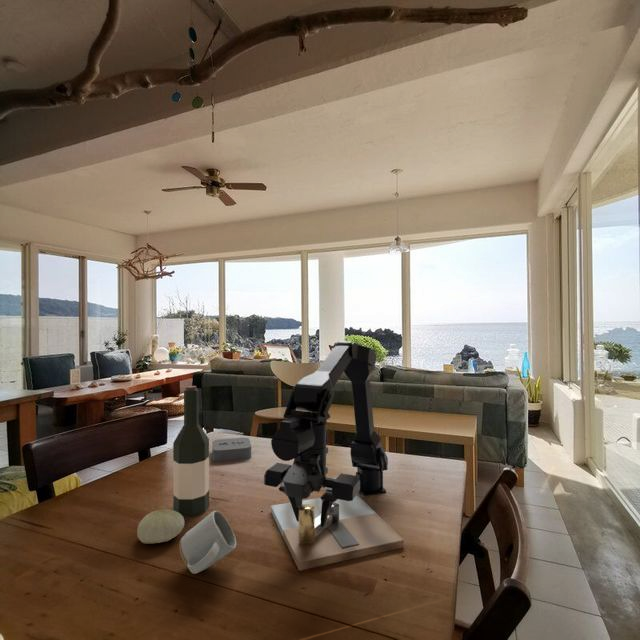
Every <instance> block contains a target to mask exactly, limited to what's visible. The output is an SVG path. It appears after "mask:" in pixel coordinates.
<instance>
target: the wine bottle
mask: <svg viewBox="0 0 640 640" xmlns="http://www.w3.org/2000/svg"><path fill="white" fill-rule="evenodd" d="M199 403H200V402H199V389H198V388H197V386H196V385H190V386H189V385H188V386H185V389H184V390H183V426H182V427H181V429H180V430H179V432H178V434H177V436H176V437H175V439H174V441H173V442H172V444H173V445H172V446H173V447H172V451H173V452H172V453H173V454H172V456H173V458H172V459H173V460H172V463H173V464H172V469H173V470H172V473H173V474H172V476H173V480H172V481H173V488H172V489H173V490H172V494H173V495H172V496H173V503H172V504H173V508H172V510H174V511H176V512H178V513H180V514H181V515H182V516H183V518H188V517H189V518H192V517H193V518H194V517H195V516H198V515H202V514H203V513H206V512H207V510H208V509H209V507H210V438H209V437H208V436H207V434H206V433H205V431H204V429H203V428H202V426H201V425H200V423H199V415H200V414H199V413H200V412H199V407H200V406H199Z"/></svg>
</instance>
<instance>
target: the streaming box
mask: <svg viewBox="0 0 640 640" xmlns="http://www.w3.org/2000/svg"><path fill="white" fill-rule="evenodd" d="M211 447H212V448H211V450H212V451H211V458H212V460H211V461H212V462H214V463H227V462H235V461H246V460H249V459H252V444H251V440H250V438H249V437H242V436H241V437H232V438H221V439H220V438H219V439H215V440H213V441H212V446H211Z"/></svg>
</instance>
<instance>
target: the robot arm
mask: <svg viewBox="0 0 640 640" xmlns="http://www.w3.org/2000/svg"><path fill="white" fill-rule="evenodd" d="M376 363H377V354H376V352H375V351H374V350H373V349H372V348H371V347H370V346H363V345H362V344H361V345H360V344H359V343H357V342H354V341H349V340H348V341H345V340H344V341H341V340H340V341H339V340H338V341H336V342H334V344H333V348H332V349H331V351H330V352H329V354H327V356H326V357H325V358H324V360H323V361H322V363H321V364H320V365H319V366H318V368H317V369H316V371H314V372H313V373H311V374H308V375H306V376H305V375H304V376H303V377H302V378H301V379H300V380H298V382H297V383H295V385H294V386H293V389H292V391H291V393H290V396H289V399H288V403H287V405H286V408H285V411H284V414H283V420H281V421H280V427H279V428H278V429H277V430H276V431H275V432H274V433H273V435H272V437H271V440H270V444H271V449H272V451H273V453H274V455H275V456H276V457H277V458H278V459H279V460H281V461H284V462H289V461H291V460H293V462H292V464H287V463H282V462H276V463H275V464H273V465H272V466H271V467H269V468H268V469H267V470H266V471H265V472H264V474H263V485H264V486H269V487H272V488H273V487H274V488H278V486H279V485H280V486H279V488H278V491H279V492H281V493H283V494H285V495H286V496H287V497H288V500H289V503H291V505H292V508H293V511H294V514H295V517H296V520H297V521H298V522H299V515H298V508H299V506H300V505H302V501H303V500H307V499H308V498H309V497H310V496H311V493H313V492H318V493H319V492H320V491H321V489H322V488H323V489H324V493H323V494H322V495H321V496H320V498H321V501H322V509H321V527H323V526H324V525H325V522H326V520H327V517H328V514H329V512H330V509H331V507H332V504H333V502H335V501H337V499H340V500H345V501H353V499H354V498H355V496H356V495H358V494H359V492H360V493H361V494H362V495H363V496H371V495H377V494H383V493H386V492H387V489H385V488H384V471H388V465H389V459H388V455H387V453H386V451H385V450H384V448H383V444H382V443H383V442H382V439H381V437H380V436H379V435H378V434H377V432H376V430H375V426H374V425H375V424H374V414H373V403H372V402H373V400H372V392H371V390H372V389H371V380H370V379H371V377H372V375H373V374H374V371H375V369H376ZM342 374H345V376H346V377H347V378H348V380H349V381H350V384H351V394H352V402H353V404H352V405H353V415H354V423H355V436H354V438H353V439H352V442H351V443H350V445H349V446H350V451H349V453H350V459H351V466H352V467H353V468H356V470H357V471H356V472H355V475H352V474H347V473H342V472H341V473H339V475H338V476H337V477H327V474H328V473H329V468H328V467H327V454H328V453H329V447H327V426H328V425H327V422H328V421H327V420H329V419H330V418H331V415H330V413H329V410H330V408H331V406H332V403H333V401H334V399H335V392H334V388H335V385H336V384H337V382H338V381H339V379H340V378H341V376H342Z"/></svg>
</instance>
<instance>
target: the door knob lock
mask: <svg viewBox="0 0 640 640" xmlns="http://www.w3.org/2000/svg"><path fill="white" fill-rule="evenodd" d="M298 515H299V543H301V544H303V545H309V544H312V543H314V541H315V538H316V537H317V536H318V535H319V534H320V533H321V532H323V531H324V530H325V529H326V528H327V527H328V526H329V525H330V524H332V523H335V522H337V521H339V504H338V503H336V502H333V504H332V507H331V509H330V512H329V514H328V517H327V520H326V522H325V525H324V526H323V527H321V514H320V515H319V516H318V517H317V518H315V513H314V506H313V505H311V504H303V505H300V506H299V508H298Z"/></svg>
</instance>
